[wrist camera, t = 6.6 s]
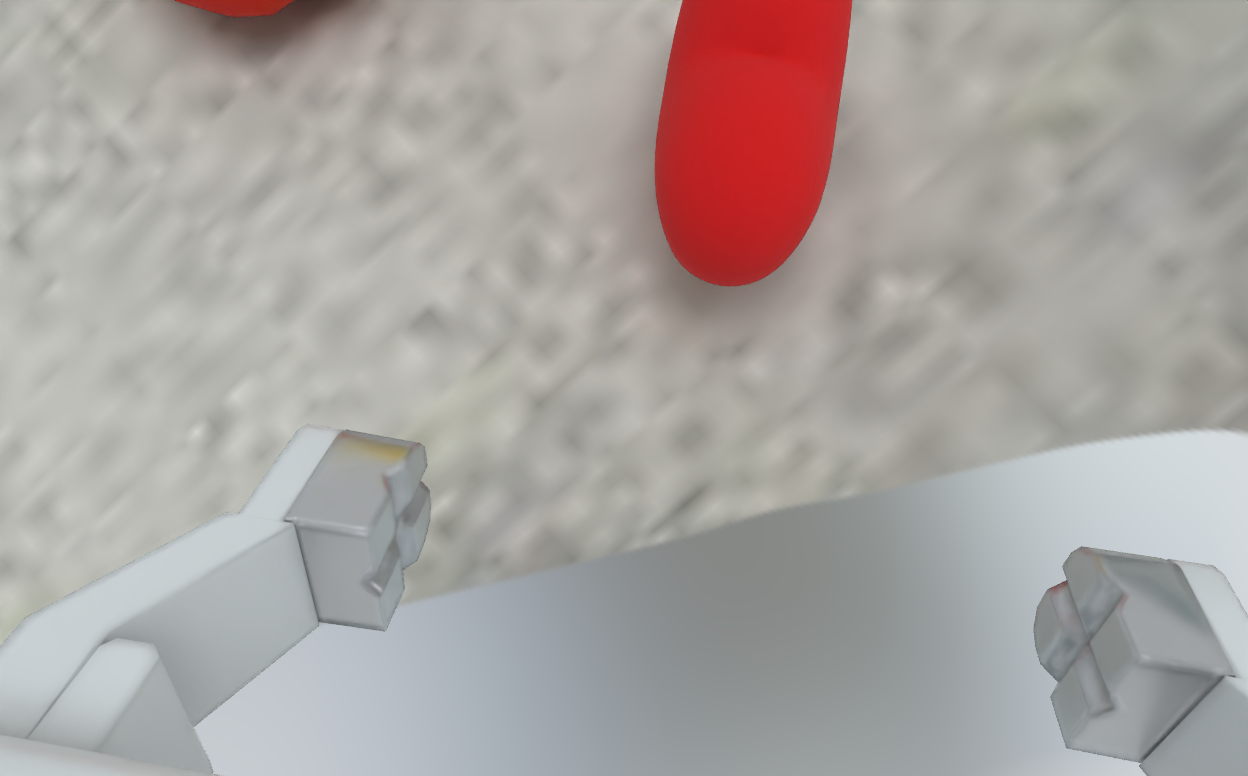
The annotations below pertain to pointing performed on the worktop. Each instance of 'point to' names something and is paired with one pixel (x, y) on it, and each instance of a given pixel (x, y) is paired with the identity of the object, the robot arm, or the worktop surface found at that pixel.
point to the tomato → (239, 6)
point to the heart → (747, 131)
